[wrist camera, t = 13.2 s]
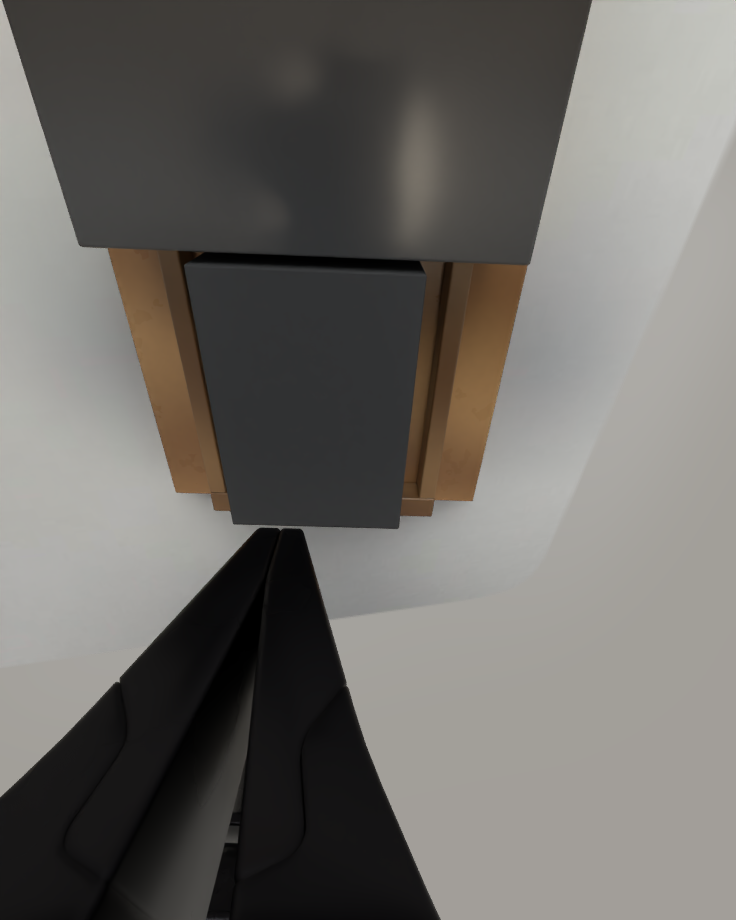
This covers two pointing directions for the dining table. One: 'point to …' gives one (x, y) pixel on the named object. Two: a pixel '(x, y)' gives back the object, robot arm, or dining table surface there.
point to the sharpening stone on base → (310, 176)
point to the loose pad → (310, 382)
